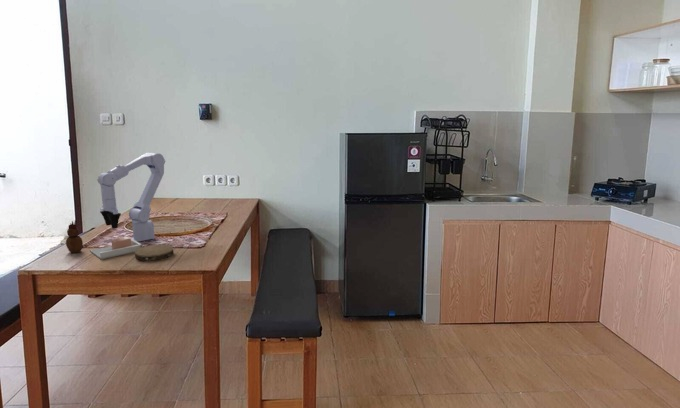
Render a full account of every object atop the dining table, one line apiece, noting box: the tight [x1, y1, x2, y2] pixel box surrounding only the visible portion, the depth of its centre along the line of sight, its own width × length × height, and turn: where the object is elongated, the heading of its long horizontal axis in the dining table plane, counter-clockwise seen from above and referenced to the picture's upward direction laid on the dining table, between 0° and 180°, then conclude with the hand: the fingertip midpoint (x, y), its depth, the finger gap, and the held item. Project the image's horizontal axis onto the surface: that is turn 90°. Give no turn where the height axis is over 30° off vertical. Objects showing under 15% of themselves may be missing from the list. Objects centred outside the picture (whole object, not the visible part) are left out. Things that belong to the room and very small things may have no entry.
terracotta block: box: [111, 236, 131, 250], centre depth 220 cm, size 4×7×5 cm, turn 133°
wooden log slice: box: [134, 244, 174, 263], centre depth 213 cm, size 16×16×3 cm
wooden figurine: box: [65, 219, 84, 254], centre depth 218 cm, size 7×6×15 cm
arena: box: [89, 237, 143, 260], centre depth 220 cm, size 18×16×3 cm
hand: (111, 226), depth 227 cm, fingers open, 7 cm apart
